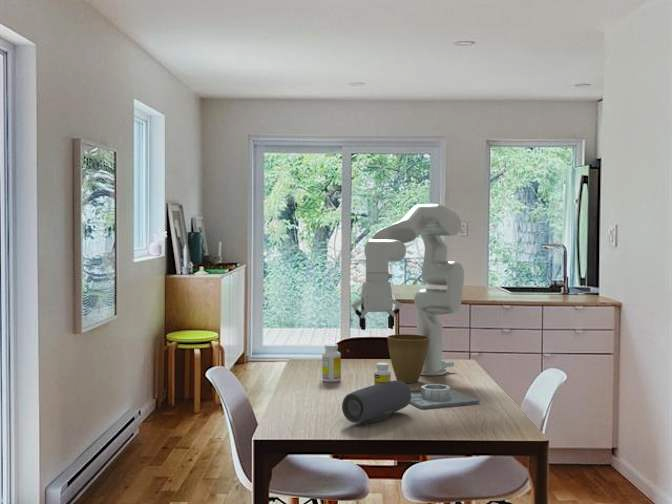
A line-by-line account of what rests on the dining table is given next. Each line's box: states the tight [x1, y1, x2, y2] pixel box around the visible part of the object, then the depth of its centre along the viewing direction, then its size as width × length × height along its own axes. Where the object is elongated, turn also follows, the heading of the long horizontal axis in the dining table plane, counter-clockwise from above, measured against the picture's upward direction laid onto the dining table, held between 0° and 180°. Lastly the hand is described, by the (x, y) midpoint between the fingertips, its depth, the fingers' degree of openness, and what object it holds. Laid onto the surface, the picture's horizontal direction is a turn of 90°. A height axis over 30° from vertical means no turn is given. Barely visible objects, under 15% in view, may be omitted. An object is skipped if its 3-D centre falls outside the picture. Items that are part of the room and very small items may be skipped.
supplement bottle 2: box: [373, 362, 392, 385], centre depth 260 cm, size 5×5×10 cm
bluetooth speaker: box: [341, 380, 411, 424], centre depth 226 cm, size 23×9×10 cm, turn 141°
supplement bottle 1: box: [321, 343, 342, 383], centre depth 280 cm, size 7×7×13 cm
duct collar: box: [409, 383, 480, 410], centre depth 250 cm, size 20×20×4 cm
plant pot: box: [386, 333, 429, 384], centre depth 278 cm, size 15×15×16 cm
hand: (376, 329), depth 260 cm, fingers open, 9 cm apart
